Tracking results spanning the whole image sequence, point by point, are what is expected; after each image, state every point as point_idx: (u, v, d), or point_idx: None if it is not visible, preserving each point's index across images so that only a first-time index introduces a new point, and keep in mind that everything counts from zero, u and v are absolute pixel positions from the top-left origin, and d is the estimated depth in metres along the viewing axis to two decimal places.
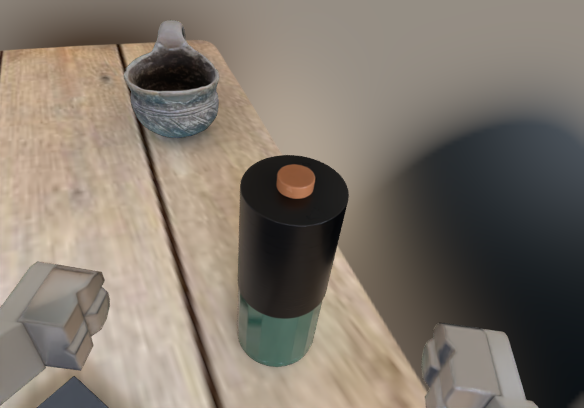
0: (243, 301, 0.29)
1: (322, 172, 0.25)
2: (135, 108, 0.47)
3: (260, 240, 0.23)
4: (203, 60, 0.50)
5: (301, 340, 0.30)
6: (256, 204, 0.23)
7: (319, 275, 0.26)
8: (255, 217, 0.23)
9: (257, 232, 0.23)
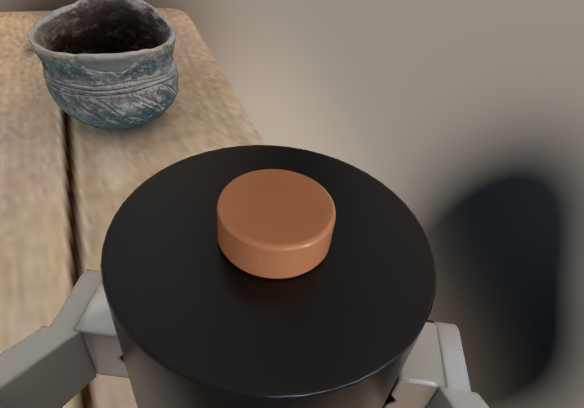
0: None
1: (352, 190, 0.09)
2: (47, 84, 0.31)
3: None
4: (154, 15, 0.34)
5: None
6: (138, 303, 0.07)
7: None
8: (133, 350, 0.07)
9: (149, 390, 0.07)
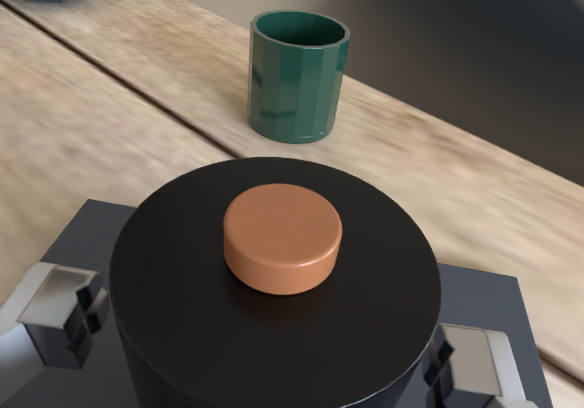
0: (271, 50, 0.24)
1: (357, 203, 0.09)
2: None
3: None
4: None
5: (336, 94, 0.27)
6: (146, 320, 0.07)
7: None
8: (141, 367, 0.07)
9: (156, 406, 0.07)
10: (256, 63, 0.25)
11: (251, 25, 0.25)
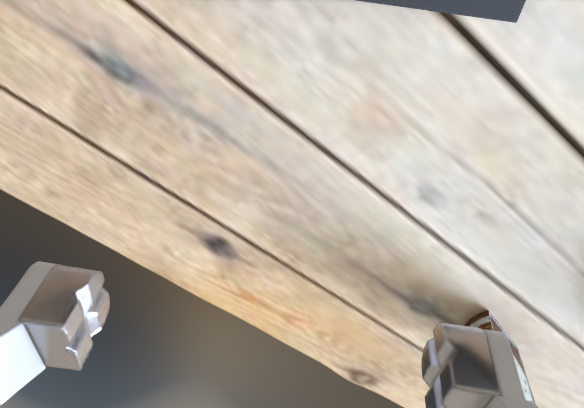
0: None
1: None
2: None
3: None
4: None
5: None
6: None
7: None
8: None
9: None
10: None
11: None
